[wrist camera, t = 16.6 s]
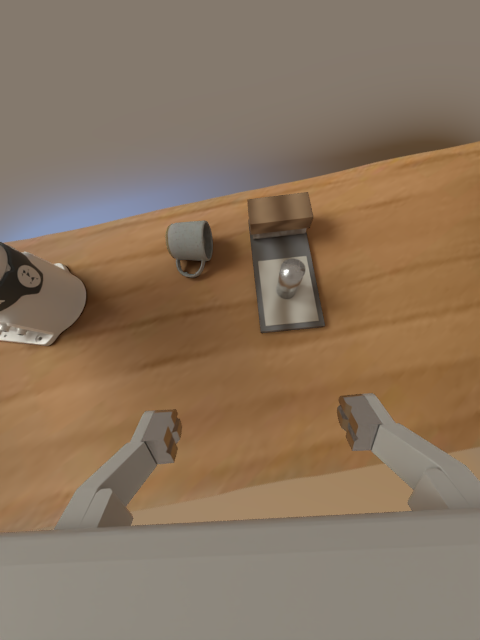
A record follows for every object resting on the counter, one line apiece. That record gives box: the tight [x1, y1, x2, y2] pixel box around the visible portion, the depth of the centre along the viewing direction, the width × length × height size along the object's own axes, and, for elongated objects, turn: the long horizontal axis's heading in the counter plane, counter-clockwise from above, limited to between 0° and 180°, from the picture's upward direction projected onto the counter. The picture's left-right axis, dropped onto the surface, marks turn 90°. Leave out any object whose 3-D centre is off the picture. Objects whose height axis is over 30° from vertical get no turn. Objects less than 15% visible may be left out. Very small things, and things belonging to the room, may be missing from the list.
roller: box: [276, 258, 305, 299], centre depth 38 cm, size 4×4×8 cm
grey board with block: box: [248, 192, 325, 333], centre depth 42 cm, size 12×26×7 cm, turn 5°
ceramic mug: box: [166, 221, 213, 278], centre depth 44 cm, size 11×8×8 cm
